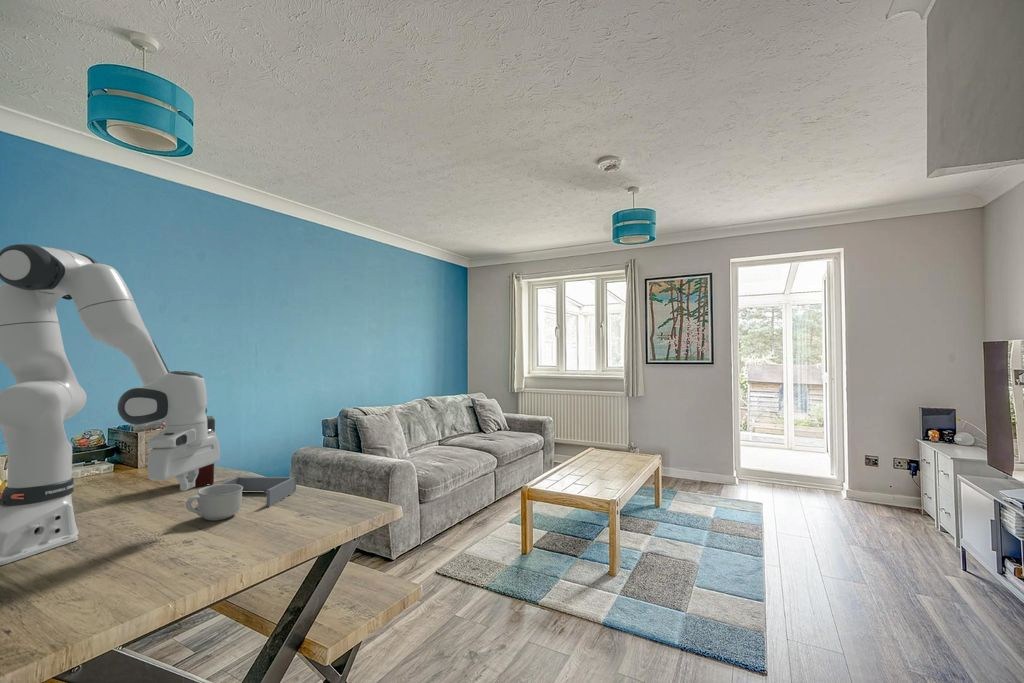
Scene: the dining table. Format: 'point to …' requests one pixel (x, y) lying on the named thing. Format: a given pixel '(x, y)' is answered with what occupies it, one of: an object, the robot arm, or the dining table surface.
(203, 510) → the teacup
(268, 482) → the box
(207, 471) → the dark red piece
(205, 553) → the dining table surface
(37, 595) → the dining table surface
